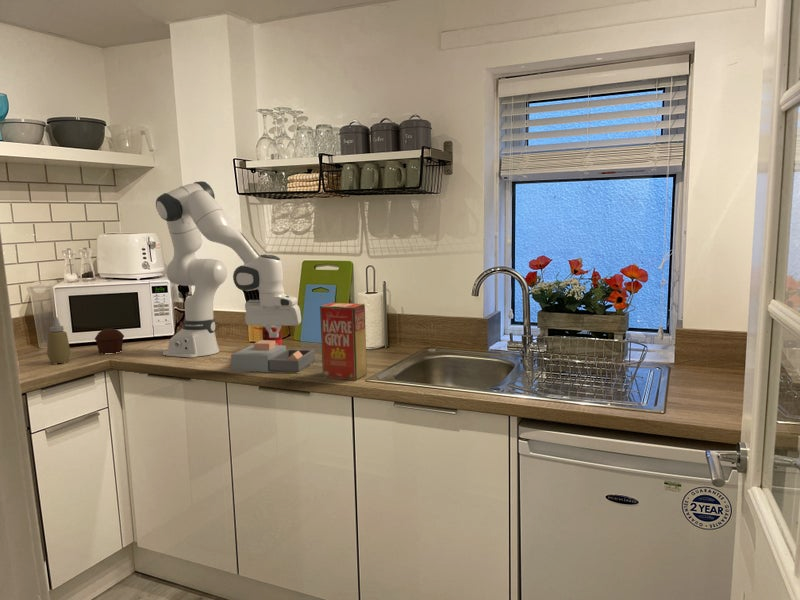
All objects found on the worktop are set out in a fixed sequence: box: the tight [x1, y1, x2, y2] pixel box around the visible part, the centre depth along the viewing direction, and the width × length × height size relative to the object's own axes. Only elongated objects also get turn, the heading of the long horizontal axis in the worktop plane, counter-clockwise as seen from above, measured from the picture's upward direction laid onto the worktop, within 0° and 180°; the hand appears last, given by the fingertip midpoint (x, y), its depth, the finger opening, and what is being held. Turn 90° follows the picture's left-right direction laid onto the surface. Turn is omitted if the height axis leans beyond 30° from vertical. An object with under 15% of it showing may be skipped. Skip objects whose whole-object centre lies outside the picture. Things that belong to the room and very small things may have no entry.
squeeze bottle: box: [46, 316, 72, 365], centre depth 240 cm, size 8×8×18 cm
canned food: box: [261, 325, 283, 345], centre depth 257 cm, size 8×8×11 cm
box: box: [269, 348, 316, 373], centre depth 227 cm, size 11×18×4 cm, turn 169°
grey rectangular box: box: [230, 344, 287, 373], centre depth 230 cm, size 14×18×6 cm
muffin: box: [94, 327, 125, 354], centre depth 259 cm, size 12×11×10 cm
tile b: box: [253, 339, 276, 350], centre depth 232 cm, size 6×6×2 cm
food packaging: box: [319, 302, 368, 381], centre depth 211 cm, size 13×9×25 cm
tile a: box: [287, 349, 303, 360], centre depth 222 cm, size 6×6×2 cm
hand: (274, 337), depth 224 cm, fingers closed
